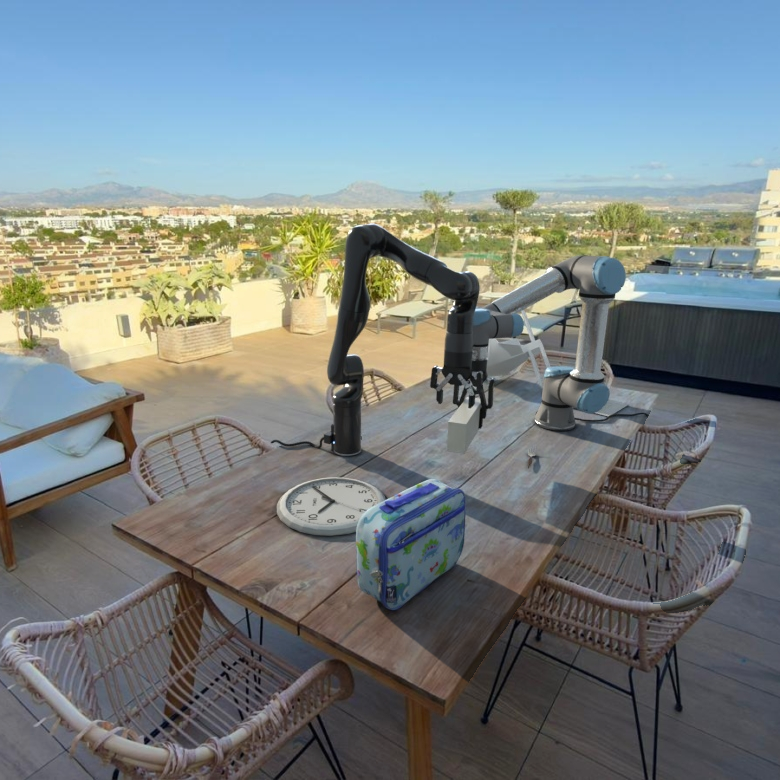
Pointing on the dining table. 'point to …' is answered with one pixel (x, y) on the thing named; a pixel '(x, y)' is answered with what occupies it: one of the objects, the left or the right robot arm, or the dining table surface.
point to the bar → (463, 427)
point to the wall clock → (327, 505)
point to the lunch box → (409, 541)
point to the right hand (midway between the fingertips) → (471, 425)
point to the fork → (531, 456)
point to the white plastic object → (514, 354)
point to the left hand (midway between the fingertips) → (455, 405)
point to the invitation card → (611, 408)
